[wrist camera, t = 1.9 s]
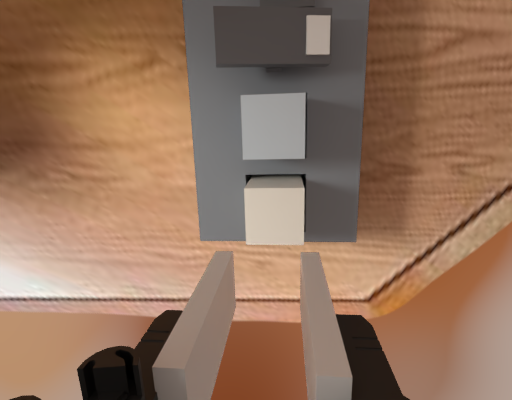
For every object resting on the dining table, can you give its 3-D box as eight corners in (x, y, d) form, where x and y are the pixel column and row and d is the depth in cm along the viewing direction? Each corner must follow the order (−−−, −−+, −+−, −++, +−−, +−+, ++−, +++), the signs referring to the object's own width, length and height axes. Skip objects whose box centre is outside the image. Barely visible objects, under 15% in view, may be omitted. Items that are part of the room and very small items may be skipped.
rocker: (216, 67, 21) (216, 63, 20) (213, 12, 21) (213, 4, 19) (324, 67, 22) (332, 62, 21) (326, 14, 21) (333, 6, 20)
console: (212, 223, 33) (195, 247, 26) (196, -32, 27) (169, -80, 21) (345, 224, 31) (360, 248, 25) (357, -45, 26) (380, -101, 19)
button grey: (251, 152, 27) (242, 159, 22) (250, 102, 26) (240, 95, 20) (300, 151, 27) (304, 158, 21) (300, 100, 26) (305, 92, 20)
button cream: (253, 220, 29) (246, 244, 23) (252, 175, 28) (244, 188, 22) (299, 220, 28) (303, 245, 23) (300, 174, 27) (304, 188, 22)
